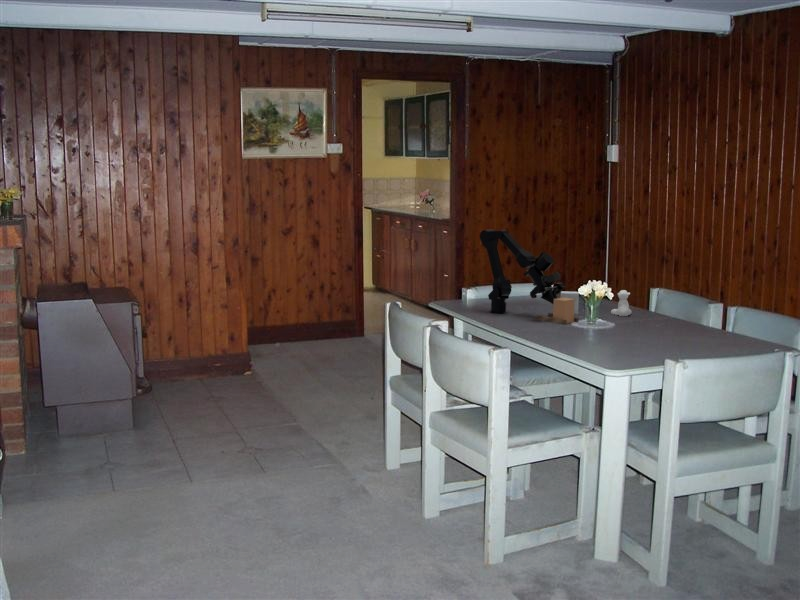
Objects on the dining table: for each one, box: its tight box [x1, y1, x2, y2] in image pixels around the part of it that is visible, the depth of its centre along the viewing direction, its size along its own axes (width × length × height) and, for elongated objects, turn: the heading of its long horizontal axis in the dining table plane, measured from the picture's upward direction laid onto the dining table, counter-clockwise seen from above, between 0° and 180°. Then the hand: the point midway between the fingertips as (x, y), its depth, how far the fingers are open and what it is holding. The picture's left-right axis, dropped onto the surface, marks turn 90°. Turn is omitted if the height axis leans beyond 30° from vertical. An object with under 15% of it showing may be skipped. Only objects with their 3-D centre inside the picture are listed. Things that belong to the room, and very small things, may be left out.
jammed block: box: [552, 297, 575, 324], centre depth 381 cm, size 6×7×10 cm
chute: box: [535, 312, 580, 326], centre depth 383 cm, size 18×10×3 cm, turn 43°
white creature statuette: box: [610, 289, 632, 317], centre depth 404 cm, size 10×9×12 cm
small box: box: [559, 290, 580, 315], centre depth 404 cm, size 8×6×10 cm
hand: (557, 305), depth 383 cm, fingers closed, pressing on jammed block
